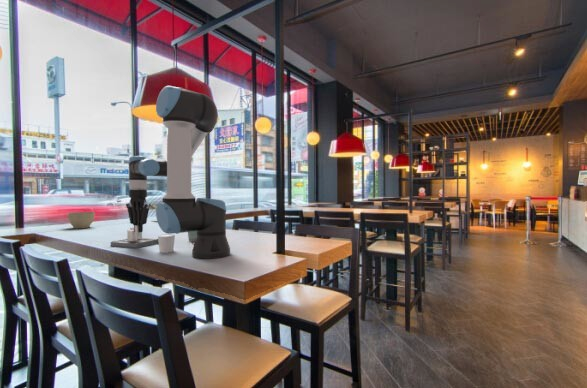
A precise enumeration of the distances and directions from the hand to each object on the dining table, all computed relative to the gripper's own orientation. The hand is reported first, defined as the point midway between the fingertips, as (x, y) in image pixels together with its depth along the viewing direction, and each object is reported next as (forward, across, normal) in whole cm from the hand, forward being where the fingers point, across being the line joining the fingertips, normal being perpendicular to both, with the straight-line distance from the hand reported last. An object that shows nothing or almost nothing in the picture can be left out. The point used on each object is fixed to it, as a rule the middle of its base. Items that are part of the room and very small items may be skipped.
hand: (138, 238), depth 142 cm
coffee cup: (+4, -16, -21) cm, 27 cm away
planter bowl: (+4, +96, -42) cm, 105 cm away
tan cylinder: (+1, +9, -7) cm, 12 cm away
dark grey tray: (+4, +5, -3) cm, 7 cm away
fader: (+1, +4, 0) cm, 4 cm away
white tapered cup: (+4, -21, +4) cm, 22 cm away
